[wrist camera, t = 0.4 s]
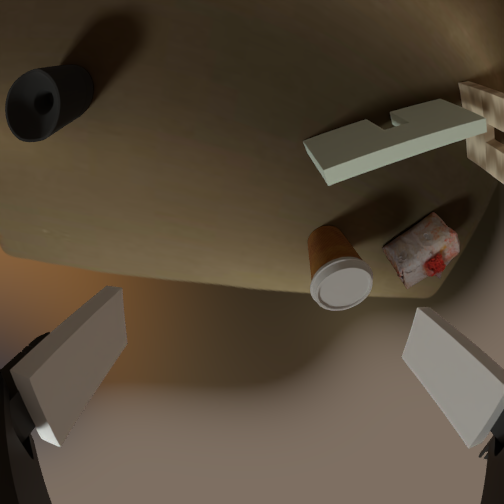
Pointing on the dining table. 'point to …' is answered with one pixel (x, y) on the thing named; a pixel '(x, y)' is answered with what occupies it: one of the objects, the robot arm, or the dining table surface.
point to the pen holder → (47, 101)
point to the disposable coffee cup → (336, 270)
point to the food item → (422, 250)
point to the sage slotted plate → (391, 139)
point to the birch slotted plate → (497, 115)
